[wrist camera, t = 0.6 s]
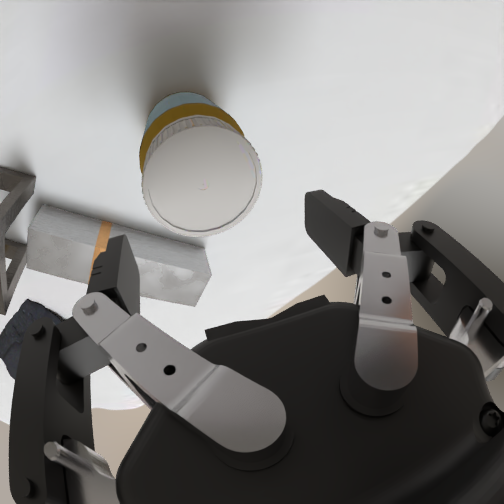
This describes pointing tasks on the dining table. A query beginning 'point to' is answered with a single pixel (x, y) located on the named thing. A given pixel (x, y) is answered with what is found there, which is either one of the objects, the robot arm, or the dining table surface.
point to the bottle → (197, 167)
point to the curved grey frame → (21, 190)
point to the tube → (95, 241)
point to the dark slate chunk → (20, 332)
